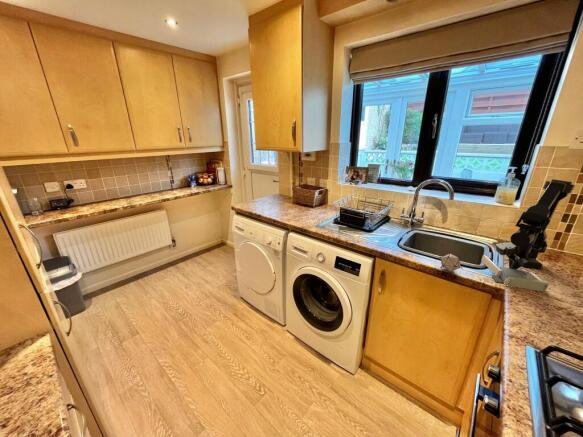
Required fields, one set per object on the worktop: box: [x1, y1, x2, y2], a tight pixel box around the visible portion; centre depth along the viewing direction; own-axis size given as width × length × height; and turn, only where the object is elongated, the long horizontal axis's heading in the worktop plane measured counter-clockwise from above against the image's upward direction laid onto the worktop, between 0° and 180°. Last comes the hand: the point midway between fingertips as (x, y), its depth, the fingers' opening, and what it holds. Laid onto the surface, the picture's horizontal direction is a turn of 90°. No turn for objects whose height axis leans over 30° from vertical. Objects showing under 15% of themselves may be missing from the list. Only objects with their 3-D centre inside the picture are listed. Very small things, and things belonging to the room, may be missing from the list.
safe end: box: [505, 276, 550, 292], centre depth 95 cm, size 1×13×4 cm, turn 77°
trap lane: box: [481, 254, 549, 292], centre depth 104 cm, size 20×13×3 cm
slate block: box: [499, 266, 527, 282], centre depth 100 cm, size 7×7×4 cm
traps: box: [491, 270, 529, 284], centre depth 102 cm, size 6×22×1 cm, turn 101°
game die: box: [438, 251, 463, 274], centre depth 105 cm, size 9×8×10 cm
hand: (510, 271), depth 104 cm, fingers closed
